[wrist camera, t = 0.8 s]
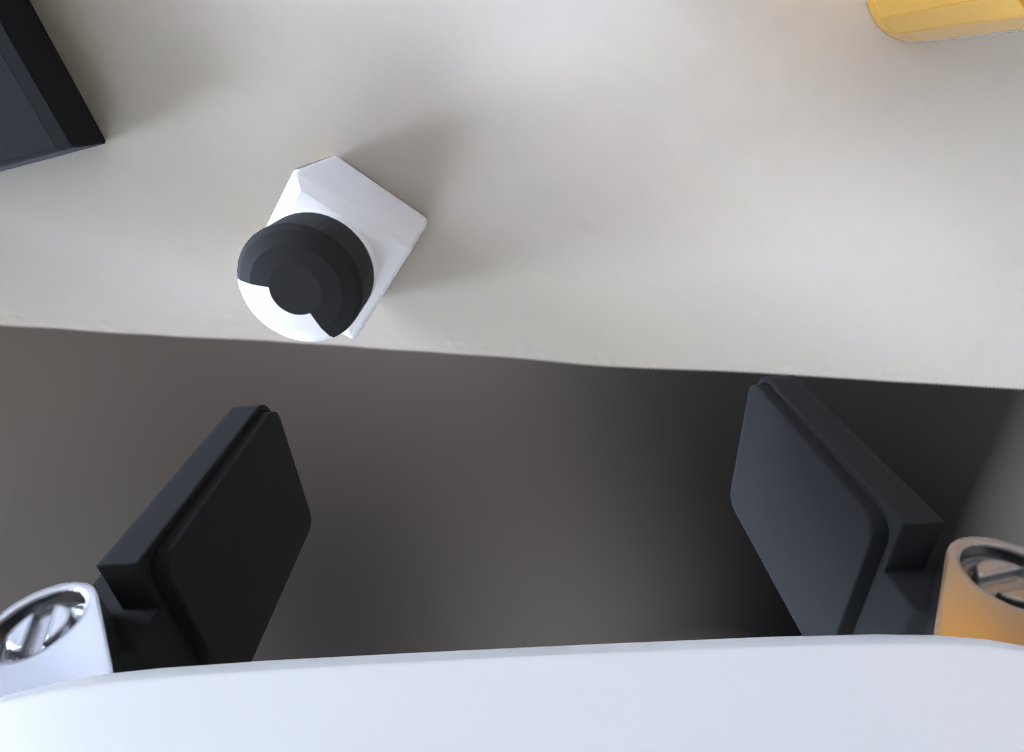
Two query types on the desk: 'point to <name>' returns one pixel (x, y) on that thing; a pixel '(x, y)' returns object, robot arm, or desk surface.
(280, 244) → the medicine bottle
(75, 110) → the external hard drive
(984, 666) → the robot arm
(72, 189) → the desk surface
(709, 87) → the desk surface
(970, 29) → the mug
